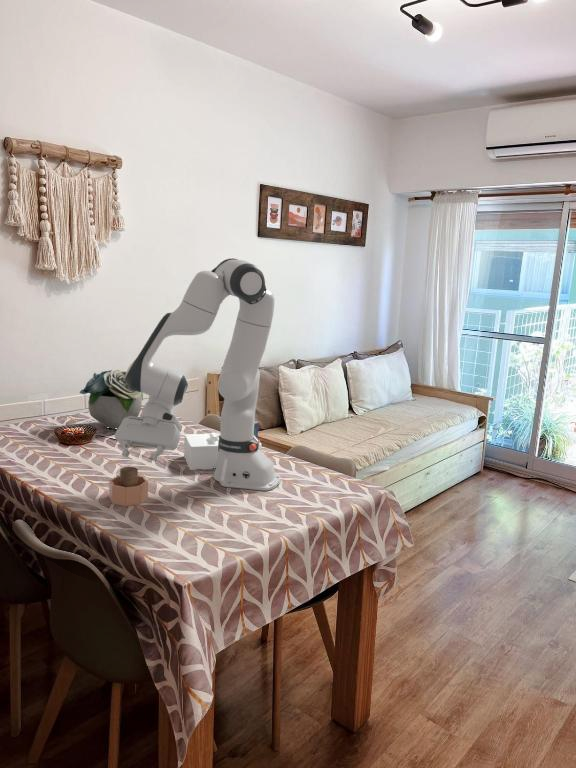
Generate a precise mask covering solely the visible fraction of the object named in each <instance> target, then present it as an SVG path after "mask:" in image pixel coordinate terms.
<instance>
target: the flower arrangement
mask: <svg viewBox="0 0 576 768" xmlns="http://www.w3.org/2000/svg"><path fill="white" fill-rule="evenodd" d="M126 372H127V371H126V370H125V371H123V370H119V369H114V370H104V371H101V372H99V373H96V372H94V373H93V375H92V378H90V379H89V380H88V381H87V382H86V384H85V387H84V388H83V389H81V390H80V391H79V394H82V395H86V394H90V395H89V397H88V403H87V404H88V411H89V414H90V417H92V418H93V419H94V420H95V421H96V422H98V423H101V424H102V425H103V427H104V426H105V427H109V428H119V426H120V425H121V423H122V421H123V419H124V418H126V417H128V416H134V417H140V414H141V412H142V402H143V399H144V393H141V392H137V391H134V390H131V389H130V388H129V386H128V385H127V383H126V381H125V376H126ZM105 427H104V428H105Z"/></svg>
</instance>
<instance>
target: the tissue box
mask: <svg viewBox="0 0 576 768" xmlns="http://www.w3.org/2000/svg"><path fill="white" fill-rule="evenodd" d="M219 436H220V433H216V432H211V433H192V434H191V433H187V434H184V445H183V447H184V451H183V457H184V459H186V460H185V461H186V462H185V463H186V465H187V466H188V468H189V470H190V471H198V470H197V469H202V470H216V469H215V468H216V466H217V461H218V455H219V452H218V441H219ZM254 438H255V439H256V440H257V441H258V440H259V438H258V439H257V438H256V437H255V436H254ZM262 445H263V444H262V443H261V442H260V443H259V448H258V449H259V450H260V451H261V452H262V450H263V449H262ZM213 468H214V469H213Z"/></svg>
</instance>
